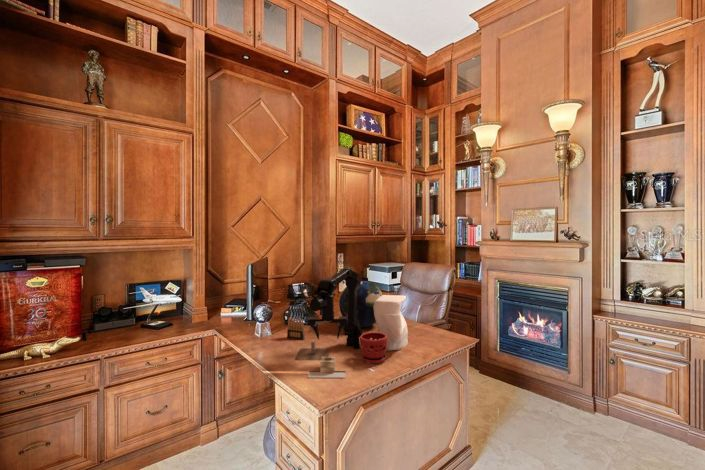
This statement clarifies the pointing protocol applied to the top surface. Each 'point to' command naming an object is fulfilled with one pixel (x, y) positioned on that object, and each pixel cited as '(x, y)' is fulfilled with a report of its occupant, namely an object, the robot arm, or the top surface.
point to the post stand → (312, 353)
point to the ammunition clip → (295, 329)
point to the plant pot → (373, 347)
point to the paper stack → (391, 320)
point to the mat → (326, 374)
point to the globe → (362, 303)
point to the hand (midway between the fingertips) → (328, 338)
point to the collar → (327, 365)
